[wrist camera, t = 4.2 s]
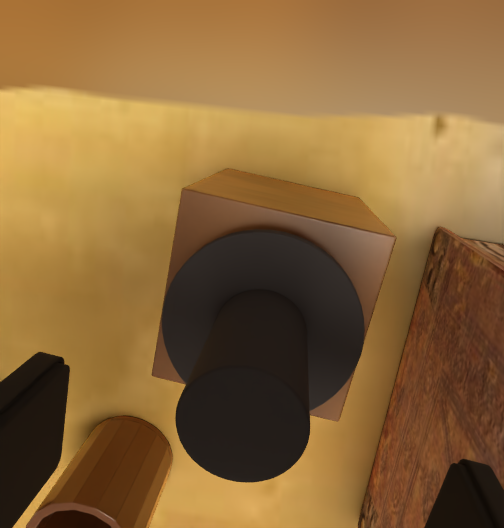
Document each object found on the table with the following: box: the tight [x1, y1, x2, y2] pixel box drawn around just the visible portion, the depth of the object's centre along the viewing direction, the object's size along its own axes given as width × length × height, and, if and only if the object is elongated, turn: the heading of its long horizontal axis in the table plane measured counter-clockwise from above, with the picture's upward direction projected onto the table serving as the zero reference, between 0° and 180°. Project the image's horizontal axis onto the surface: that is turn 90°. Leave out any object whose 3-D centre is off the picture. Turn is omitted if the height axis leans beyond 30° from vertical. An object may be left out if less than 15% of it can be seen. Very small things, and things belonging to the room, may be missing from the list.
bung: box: [162, 229, 365, 482], centre depth 16 cm, size 8×8×8 cm
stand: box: [152, 168, 396, 422], centre depth 25 cm, size 9×9×12 cm
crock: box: [26, 416, 172, 528], centre depth 33 cm, size 7×7×9 cm
